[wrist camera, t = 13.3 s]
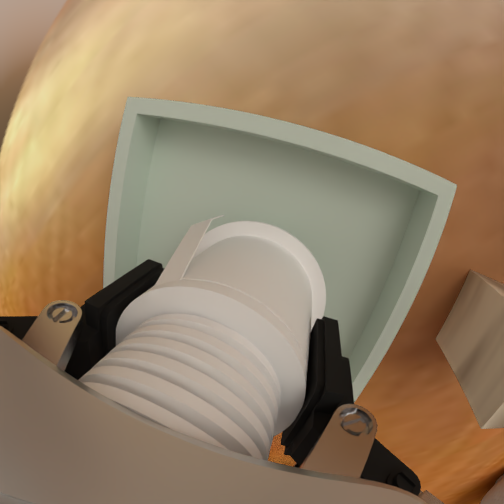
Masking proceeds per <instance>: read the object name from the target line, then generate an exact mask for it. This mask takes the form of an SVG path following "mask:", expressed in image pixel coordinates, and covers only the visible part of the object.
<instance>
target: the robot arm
mask: <svg viewBox="0 0 504 504" xmlns="http://www.w3.org/2000/svg"><path fill="white" fill-rule="evenodd" d="M164 269H165V268H163V266H162V264H161V263H158V262H156V261H153V260H150V259H148V260H146V261H144V262H143V263H141V264H140V265H138V266H137V267H135V268H134V269H132V270H131V271H129V272H128V273H126V274H124V275H123V276H121V277H120V278H118V279H117V280H115V281H114V282H112V283H111V284H109V285H108V286H106V287H105V288H103V289H102V290H101V291H99V292H98V293H96V294H95V295H93V296H92V297H90V298H89V299H87V300H86V301H85V304H84V305H83V306H81V307H79V306H78V305H77V304H75V303H73V302H71V301H65V300H61V301H55V302H52V303H50V304H48V305H47V306H46V307H45V308H44V309H43V310H42V312H41V313H40V315H39V316H22V317H0V504H444V503H443V502H441V501H440V500H439V499H437V498H436V497H435V496H433V495H432V494H431V493H430V492H428V491H427V490H425V491H424V492H422V491H421V490H420V489H421V486H420V481H419V479H418V477H417V475H416V474H415V473H414V472H413V471H412V470H411V469H409V468H408V467H407V466H406V465H405V464H404V463H402V462H401V461H400V460H399V459H398V458H397V457H396V456H394V455H393V454H392V453H391V452H390V451H389V450H388V449H386V448H385V447H384V446H383V445H382V444H381V443H380V442H379V441H377V440H376V439H375V435H376V432H377V426H378V425H377V422H376V419H375V418H374V416H373V415H372V414H371V413H370V412H369V411H368V410H367V409H365V408H363V407H361V406H359V405H355V404H354V397H353V387H352V378H351V369H350V361H349V358H347V357H343V356H342V353H341V343H340V334H339V325H338V320H335V319H332V318H328V317H325V316H323V318H322V319H318V318H317V319H316V321H315V324H314V326H313V328H312V331H311V334H310V347H309V360H308V371H307V381H306V393H305V399H304V403H303V406H302V408H301V410H300V412H299V413H298V415H297V417H296V419H295V420H294V421H293V423H292V424H291V425H290V426H289V427H287V428H286V429H285V430H284V431H283V433H282V438H281V445H284V446H285V452H284V454H285V455H290V456H291V457H292V458H293V459H294V461H295V462H296V463H295V464H294V466H293V467H292V466H287V465H283V464H278V463H274V462H270V461H266V460H262V459H258V458H254V457H251V456H247V455H243V454H240V453H237V452H233V451H230V450H227V449H224V448H221V447H218V446H215V445H212V444H209V443H206V442H204V441H201V440H198V439H195V438H193V437H190V436H188V435H185V434H183V433H180V432H178V431H175V430H172V429H170V428H167V427H165V426H163V425H161V424H158V423H156V422H154V421H152V420H150V419H148V418H146V417H144V416H141V415H139V414H137V413H135V412H133V411H131V410H130V409H128V408H126V407H124V406H122V405H120V404H118V403H116V402H114V401H113V400H111V399H109V398H107V397H105V396H104V395H102V394H100V393H98V392H97V391H95V390H93V389H91V388H90V387H88V386H86V385H85V384H83V383H82V382H80V381H78V380H79V379H80V378H81V377H82V376H83V375H84V374H86V373H87V372H88V371H90V370H91V369H92V368H93V366H94V365H96V364H97V363H98V362H99V361H100V360H101V359H102V358H104V357H105V356H106V355H107V354H108V353H109V352H110V351H111V350H112V349H113V348H115V347H116V327H117V323H118V321H119V318H120V316H121V314H122V313H123V311H124V310H125V308H126V307H127V306H128V305H129V304H130V303H131V302H132V301H133V300H135V299H136V298H137V297H139V296H140V295H142V294H143V293H145V292H146V291H147V290H149V289H150V288H152V287H153V286H154V285H155V284H156V282H157V281H158V279H159V277H160V276H161V274H162V272H163V271H164Z"/></svg>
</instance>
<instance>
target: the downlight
mask: <svg viewBox="0 0 504 504" xmlns="http://www.w3.org/2000/svg"><path fill="white" fill-rule="evenodd" d="M222 216H224V215H221V216H218V217H214V218H211V219H208V220H205V221H202V222H199V223H196V224H194V225H191V227H190V228H189V230H188V232H187V233H186V235H185V236H184V238H183V239H182V241H181V243H180V244H179V246H178V247H177V249H176V251H175V252H174V254H173V256H172V257H171V259H170V261H169V262H168V264H167V266H166V267H165V269H164V271H163V272H162V274H161V276H160V277H159V279H158V281H157V282H156V284H155V285H154V286H153V287H152V288H150V289H149V290H147V291H146V292H145V293H143V294H142V295H140V296H139V297H137V298H136V299H135V300H133V301H132V302H131V303H130V304H129V305H128V306H127V307H126V308H125V310H124V311H123V313H122V314H121V316H120V318H119V321H118V323H117V327H116V347H115V348H113V349H112V350H111V351H110V352H109V353H108V354H107V355H106V356H105V357H104V358H102V359H101V360H100V361H99V362H98V363H97V364H96V365H94V366H93V368H92V369H91V370H90V371H88V372H87V373H86V374H84V375H83V376H82V377H81V378H80V379H79V380H78V381H80V382H82V383H83V384H85V385H86V386H88V387H90V388H91V389H93V390H95V391H97V392H98V393H100V394H102V395H104V396H105V397H107V398H109V399H111V400H113V401H114V402H116V403H118V404H120V405H122V406H124V407H126V408H128V409H130V410H131V411H133V412H135V413H137V414H139V415H141V416H144V417H146V418H148V419H150V420H152V421H154V422H156V423H158V424H161V425H163V426H165V427H167V428H170V429H172V430H175V431H178V432H180V433H183V434H185V435H188V436H190V437H193V438H195V439H198V440H201V441H204V442H206V443H209V444H212V445H215V446H218V447H221V448H224V449H227V450H230V451H233V452H237V453H240V454H243V455H247V456H251V457H254V458H258V459H262V460H266V461H268V457H269V452H270V448H271V444H272V440H273V437H274V436H276V435H277V434H279V433H281V432H282V431H284V430H285V429H286V428H287V427H289V426H290V425H291V424H292V423H293V421H294V420H295V419H296V417H297V415H298V413H299V412H300V410H301V408H302V406H303V403H304V399H305V393H306V381H307V371H308V360H309V347H310V334H311V331H312V328H313V326H314V324H315V321H316V319H317V318H318V319H322V318H323V315H324V311H325V305H326V288H325V282H324V277H323V274H322V271H321V269H320V267H319V264H318V263H317V261H316V259H315V258H314V256H313V255H312V253H311V252H310V251H309V250H308V248H307V247H306V246H305V245H304V244H303V243H302V242H301V241H300V240H298V239H297V238H296V237H294V236H293V235H292V234H290V233H288V232H287V231H285V230H283V229H281V228H279V227H276V226H274V225H271V224H267V223H263V222H257V221H236V222H230V223H227V224H223V225H221V226H218V227H216V228H214V229H212V230H210V231H208V232H207V233H206V231H207V229H208V227H209V225H210V223H211V221H212V220H213V219H216V218H219V217H222Z"/></svg>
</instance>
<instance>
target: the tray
mask: <svg viewBox="0 0 504 504" xmlns="http://www.w3.org/2000/svg"><path fill="white" fill-rule="evenodd" d="M456 188H457V185H456V184H454V183H452V182H450V181H448V180H446V179H444V178H442V177H440V176H438V175H435V174H433V173H431V172H429V171H427V170H425V169H422V168H420V167H418V166H415V165H413V164H411V163H408V162H406V161H404V160H401V159H399V158H396V157H394V156H391V155H389V154H386V153H384V152H381V151H378V150H376V149H373V148H370V147H368V146H365V145H362V144H359V143H356V142H353V141H350V140H347V139H344V138H341V137H338V136H335V135H332V134H329V133H325V132H322V131H319V130H315V129H312V128H308V127H305V126H301V125H297V124H294V123H290V122H286V121H282V120H278V119H274V118H269V117H265V116H261V115H256V114H251V113H247V112H242V111H237V110H231V109H226V108H220V107H214V106H208V105H202V104H195V103H187V102H180V101H171V100H162V99H151V98H139V97H128V98H127V102H126V106H125V110H124V114H123V119H122V123H121V128H120V133H119V138H118V143H117V148H116V154H115V159H114V165H113V172H112V178H111V186H110V193H109V202H108V211H107V221H106V233H105V249H104V274H103V288H105V287H106V286H108V285H109V284H111V283H112V282H114V281H115V280H117V279H118V278H120V277H121V276H123V275H124V274H126V273H128V272H129V271H131V270H132V269H134V268H135V267H137V266H138V265H140V264H141V263H143V262H144V261H146V260H148V259H150V260H153V261H156V262H158V263H161V264H162V266H163V268H165V267H166V266H167V264H168V262H169V261H170V259H171V257H172V256H173V254H174V252H175V251H176V249H177V247H178V246H179V244H180V243H181V241H182V239H183V238H184V236H185V235H186V233H187V232H188V230H189V228H190V227H191V225H194V224H196V223H199V222H202V221H205V220H208V219H211V218H214V217H218V216H221V215H224V216H222V217H219V218H216V219H213V220H212V221H211V223H210V225H209V227H208V229H207V231H206V233H207V232H208V231H210V230H212V229H214V228H216V227H218V226H221V225H223V224H227V223H230V222H236V221H257V222H263V223H267V224H271V225H274V226H276V227H279V228H281V229H283V230H285V231H287V232H288V233H290V234H292V235H293V236H294V237H296V238H297V239H298V240H300V241H301V242H302V243H303V244H304V245H305V246H306V247H307V248H308V250H309V251H310V252H311V253H312V255H313V256H314V258H315V259H316V261H317V263H318V264H319V267H320V269H321V271H322V274H323V277H324V282H325V288H326V305H325V311H324V315H323V316H325V317H328V318H332V319H335V320H338V325H339V334H340V343H341V353H342V356H343V357H347V358H349V361H350V369H351V378H352V387H353V397H354V402H355V401H356V399H357V398H358V396H359V395H360V393H361V392H362V390H363V389H364V387H365V386H366V384H367V383H368V381H369V380H370V378H371V377H372V375H373V374H374V372H375V370H376V369H377V367H378V365H379V364H380V362H381V361H382V359H383V357H384V355H385V354H386V352H387V350H388V349H389V347H390V345H391V343H392V342H393V340H394V338H395V336H396V334H397V332H398V331H399V329H400V327H401V325H402V323H403V321H404V319H405V317H406V315H407V313H408V311H409V309H410V307H411V305H412V303H413V301H414V299H415V297H416V295H417V293H418V291H419V288H420V286H421V284H422V282H423V279H424V277H425V275H426V273H427V270H428V268H429V265H430V263H431V261H432V258H433V256H434V253H435V251H436V248H437V245H438V243H439V240H440V237H441V235H442V232H443V229H444V226H445V223H446V220H447V217H448V214H449V211H450V208H451V205H452V201H453V198H454V195H455V191H456Z"/></svg>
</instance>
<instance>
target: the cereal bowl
mask: <svg viewBox="0 0 504 504" xmlns="http://www.w3.org/2000/svg"><path fill="white" fill-rule="evenodd" d="M480 504H504V474H503V475H502V476H501V477H500V478H499V479H498V480H497V481H496V483H495V485H494V486H493V487H492V488H491V489H490V490H489V491H488V492H487V493H486V495H485V496H484V497H483V499H482V500H481V502H480Z"/></svg>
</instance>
